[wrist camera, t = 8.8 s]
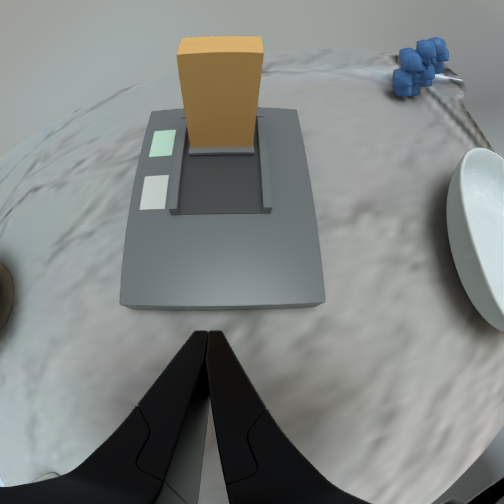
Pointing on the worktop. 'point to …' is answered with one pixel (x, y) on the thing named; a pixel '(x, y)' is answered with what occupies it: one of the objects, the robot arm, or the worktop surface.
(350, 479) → the worktop surface
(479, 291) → the serving bowl
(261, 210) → the switch housing
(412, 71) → the grapes
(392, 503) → the worktop surface
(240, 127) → the switch tab
